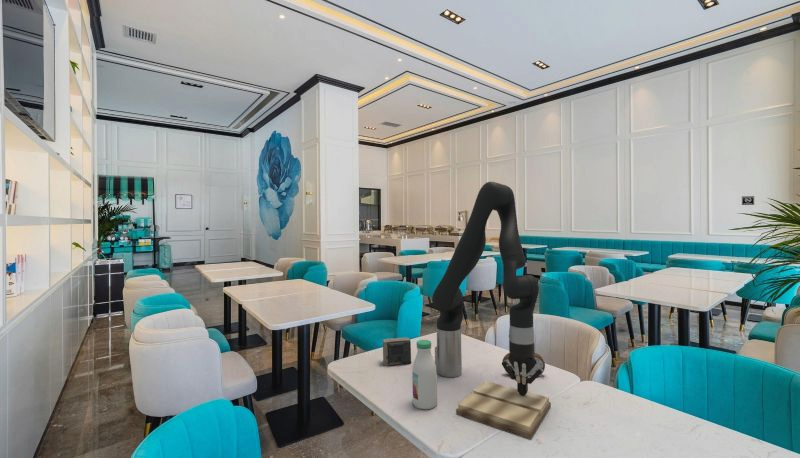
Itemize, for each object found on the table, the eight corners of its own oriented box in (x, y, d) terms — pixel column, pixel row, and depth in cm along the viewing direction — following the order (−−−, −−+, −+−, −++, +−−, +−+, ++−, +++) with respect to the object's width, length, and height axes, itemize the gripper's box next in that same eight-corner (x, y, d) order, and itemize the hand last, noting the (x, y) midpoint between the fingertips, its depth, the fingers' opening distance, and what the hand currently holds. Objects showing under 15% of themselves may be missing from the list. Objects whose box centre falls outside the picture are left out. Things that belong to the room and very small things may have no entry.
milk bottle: (439, 399, 118) (438, 338, 117) (434, 412, 111) (432, 346, 110) (416, 396, 120) (415, 336, 120) (409, 408, 113) (408, 344, 113)
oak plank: (473, 395, 117) (473, 390, 117) (484, 384, 124) (484, 380, 124) (540, 414, 105) (540, 409, 105) (548, 402, 112) (548, 397, 112)
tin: (543, 374, 135) (543, 351, 135) (546, 377, 132) (545, 355, 132) (502, 373, 137) (501, 351, 137) (503, 377, 134) (503, 354, 134)
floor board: (456, 414, 109) (455, 404, 109) (483, 388, 125) (483, 379, 125) (530, 439, 96) (530, 428, 96) (550, 407, 112) (550, 397, 112)
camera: (409, 359, 152) (409, 336, 152) (412, 365, 146) (411, 340, 146) (382, 361, 150) (382, 337, 150) (383, 367, 145) (383, 342, 145)
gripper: (547, 339, 112) (547, 395, 113) (505, 332, 120) (506, 384, 121) (540, 347, 106) (540, 405, 107) (496, 338, 114) (497, 393, 115)
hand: (522, 394), depth 114 cm, fingers closed
